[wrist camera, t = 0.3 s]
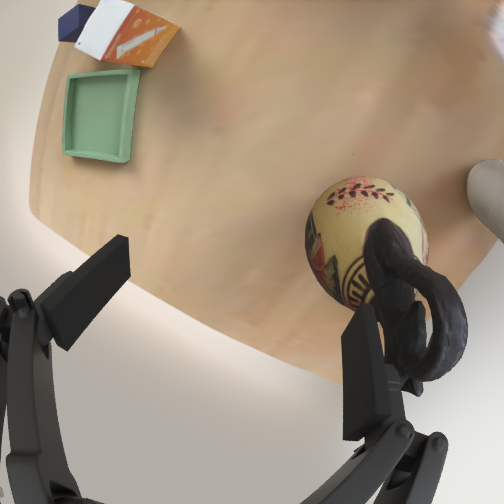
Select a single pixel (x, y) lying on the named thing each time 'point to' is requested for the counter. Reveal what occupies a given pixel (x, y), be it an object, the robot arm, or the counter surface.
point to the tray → (100, 114)
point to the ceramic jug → (387, 274)
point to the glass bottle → (488, 194)
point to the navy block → (73, 23)
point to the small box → (125, 34)
